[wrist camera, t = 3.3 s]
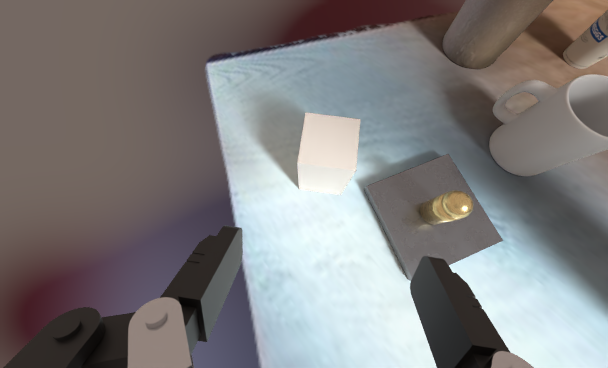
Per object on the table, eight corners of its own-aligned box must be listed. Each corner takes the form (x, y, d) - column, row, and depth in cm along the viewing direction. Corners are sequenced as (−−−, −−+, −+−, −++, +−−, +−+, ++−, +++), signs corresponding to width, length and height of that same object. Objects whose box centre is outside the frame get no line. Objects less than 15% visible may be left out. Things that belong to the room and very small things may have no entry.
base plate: (442, 157, 35) (481, 130, 27) (493, 241, 31) (556, 236, 24) (363, 189, 34) (381, 169, 26) (408, 279, 30) (445, 288, 22)
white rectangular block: (344, 156, 35) (360, 119, 25) (340, 195, 33) (355, 170, 24) (304, 151, 35) (305, 112, 26) (299, 189, 33) (297, 162, 24)
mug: (557, 150, 35) (664, 106, 25) (527, 188, 34) (629, 158, 23) (488, 102, 38) (559, 43, 27) (457, 135, 36) (521, 86, 26)
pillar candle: (509, 57, 40) (621, -53, 26) (463, 77, 39) (555, -27, 25) (473, 20, 43) (557, -99, 29) (429, 37, 42) (494, -77, 28)
